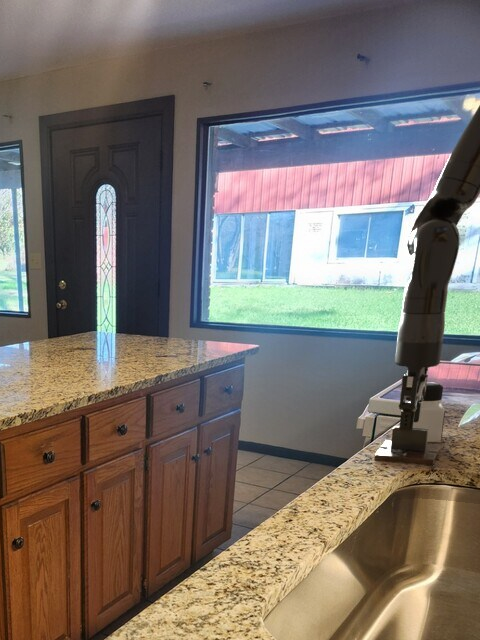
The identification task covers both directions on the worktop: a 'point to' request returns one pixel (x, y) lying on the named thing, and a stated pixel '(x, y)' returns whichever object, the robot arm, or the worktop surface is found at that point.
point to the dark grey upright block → (409, 439)
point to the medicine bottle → (432, 412)
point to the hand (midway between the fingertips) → (409, 426)
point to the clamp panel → (407, 454)
